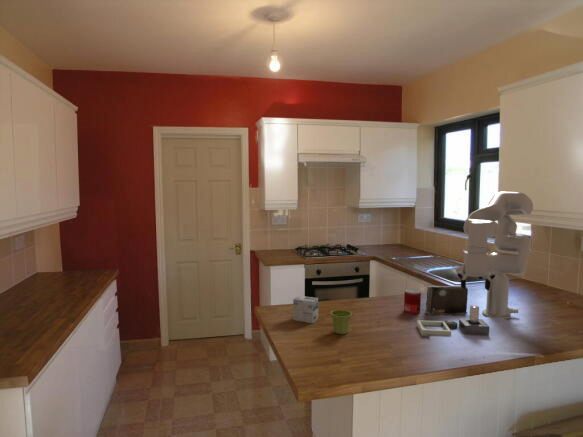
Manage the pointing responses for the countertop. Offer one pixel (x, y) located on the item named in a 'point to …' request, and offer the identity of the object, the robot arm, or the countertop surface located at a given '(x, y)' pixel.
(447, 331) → the parts tray
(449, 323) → the wheel
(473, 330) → the block
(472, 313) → the pin
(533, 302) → the countertop surface
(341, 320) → the plant pot
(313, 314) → the light bulb box
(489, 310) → the robot arm
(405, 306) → the canned food
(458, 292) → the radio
